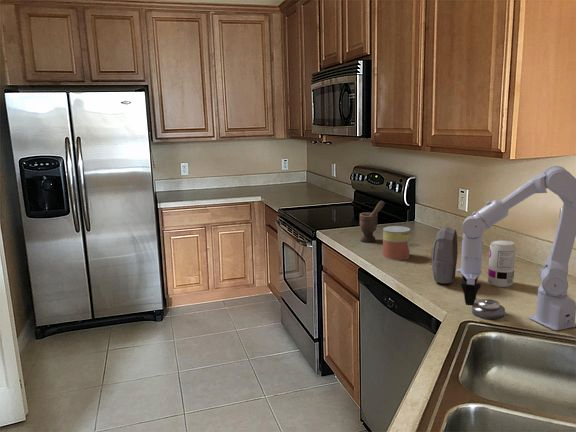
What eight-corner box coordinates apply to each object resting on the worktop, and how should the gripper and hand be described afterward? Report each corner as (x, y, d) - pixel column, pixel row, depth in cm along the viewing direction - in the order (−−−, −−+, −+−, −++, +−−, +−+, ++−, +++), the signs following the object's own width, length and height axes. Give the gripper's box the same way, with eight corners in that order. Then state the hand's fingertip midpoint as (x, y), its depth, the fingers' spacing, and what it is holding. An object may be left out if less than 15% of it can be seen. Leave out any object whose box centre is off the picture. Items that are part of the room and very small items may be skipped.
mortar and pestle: (382, 238, 232) (383, 198, 228) (384, 243, 224) (385, 201, 220) (358, 238, 233) (359, 198, 229) (360, 243, 225) (360, 201, 221)
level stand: (511, 316, 139) (511, 310, 139) (486, 321, 136) (486, 315, 136) (489, 306, 148) (489, 299, 147) (465, 310, 145) (465, 303, 144)
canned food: (410, 260, 196) (411, 232, 194) (382, 259, 198) (382, 231, 196) (409, 252, 207) (409, 226, 205) (382, 252, 209) (383, 225, 207)
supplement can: (483, 284, 167) (486, 243, 164) (493, 278, 172) (496, 238, 169) (507, 289, 161) (510, 247, 158) (516, 283, 167) (519, 242, 163)
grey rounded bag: (451, 288, 163) (453, 232, 159) (426, 285, 167) (428, 230, 163) (457, 275, 176) (459, 223, 172) (434, 272, 180) (436, 221, 176)
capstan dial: (503, 307, 141) (504, 294, 140) (492, 312, 137) (492, 299, 137) (474, 297, 149) (475, 285, 148) (463, 302, 145) (463, 290, 144)
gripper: (457, 249, 148) (455, 289, 151) (456, 262, 135) (454, 307, 138) (481, 250, 146) (479, 292, 149) (483, 264, 133) (480, 309, 136)
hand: (469, 299), depth 143 cm, fingers open, 7 cm apart
